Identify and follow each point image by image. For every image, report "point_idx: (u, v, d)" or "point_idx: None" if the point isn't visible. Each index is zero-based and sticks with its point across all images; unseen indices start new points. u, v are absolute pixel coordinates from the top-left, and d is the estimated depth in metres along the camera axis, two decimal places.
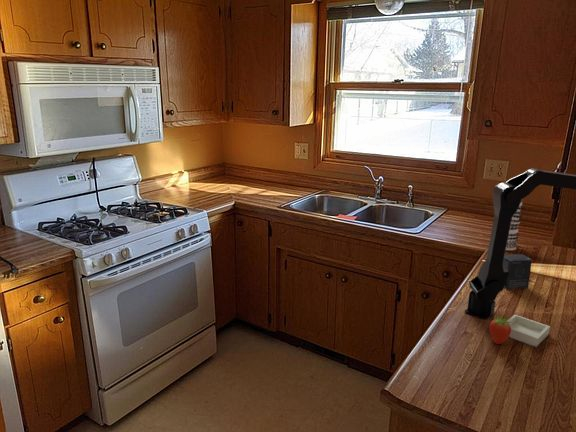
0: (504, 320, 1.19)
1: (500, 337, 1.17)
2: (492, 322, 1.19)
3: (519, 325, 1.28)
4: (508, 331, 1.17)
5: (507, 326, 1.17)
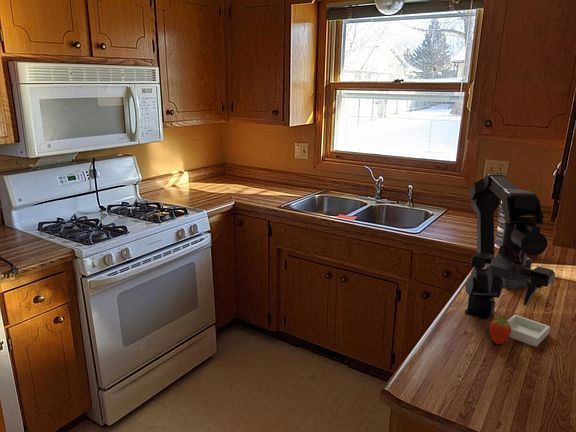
0: (504, 320, 1.19)
1: (500, 337, 1.17)
2: (492, 322, 1.19)
3: (519, 325, 1.28)
4: (508, 331, 1.17)
5: (507, 326, 1.17)
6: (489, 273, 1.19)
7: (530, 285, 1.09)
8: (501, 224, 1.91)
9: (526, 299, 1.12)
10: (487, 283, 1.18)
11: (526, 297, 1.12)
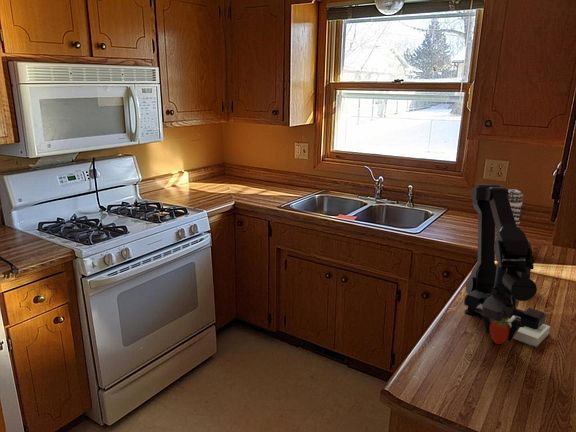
0: (504, 320, 1.19)
1: (500, 337, 1.17)
2: (492, 322, 1.19)
3: None
4: (508, 331, 1.17)
5: (507, 326, 1.17)
6: None
7: (513, 324, 1.14)
8: None
9: (510, 337, 1.17)
10: (487, 324, 1.21)
11: (510, 335, 1.17)
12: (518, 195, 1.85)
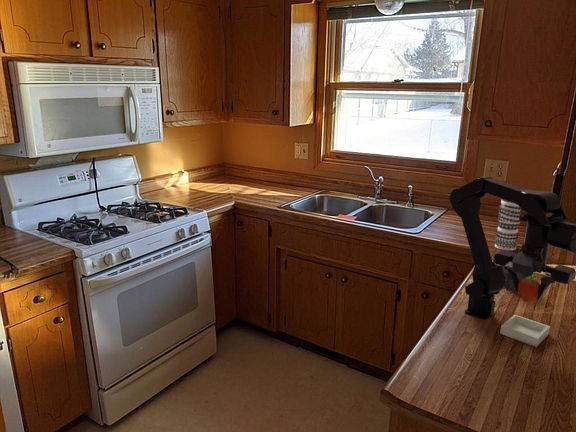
0: (533, 278, 1.20)
1: (529, 294, 1.19)
2: (521, 280, 1.21)
3: (519, 325, 1.28)
4: (537, 288, 1.18)
5: (536, 283, 1.18)
6: (518, 272, 1.22)
7: (543, 280, 1.15)
8: (501, 224, 1.91)
9: (539, 293, 1.18)
10: (516, 282, 1.22)
11: (539, 292, 1.18)
12: None
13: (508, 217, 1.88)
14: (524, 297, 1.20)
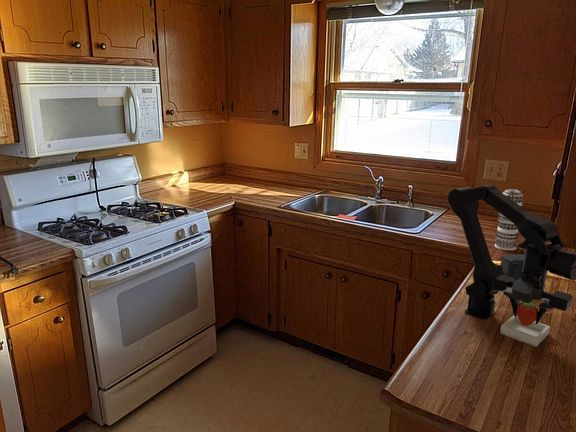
0: (531, 303, 1.23)
1: (528, 319, 1.21)
2: (520, 305, 1.23)
3: (519, 325, 1.28)
4: (536, 313, 1.21)
5: (535, 308, 1.21)
6: None
7: (541, 306, 1.18)
8: (501, 224, 1.91)
9: (538, 319, 1.21)
10: (515, 307, 1.24)
11: (538, 317, 1.20)
12: (518, 195, 1.85)
13: None
14: (523, 322, 1.23)
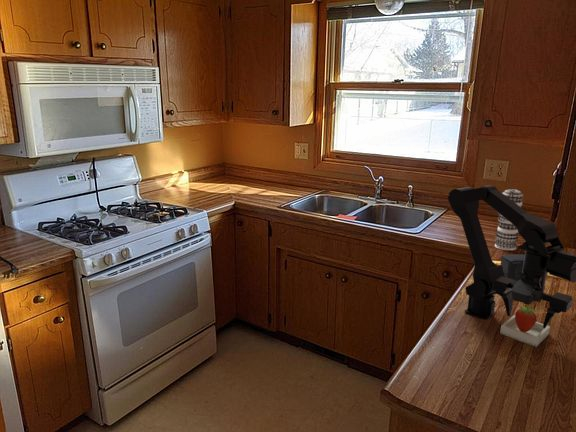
0: (530, 309, 1.23)
1: (526, 325, 1.22)
2: (518, 311, 1.24)
3: None
4: (534, 319, 1.21)
5: (533, 315, 1.22)
6: (510, 297, 1.26)
7: (549, 310, 1.16)
8: (501, 224, 1.91)
9: (545, 323, 1.19)
10: (508, 306, 1.26)
11: (545, 321, 1.19)
12: (518, 195, 1.85)
13: None
14: (521, 328, 1.23)
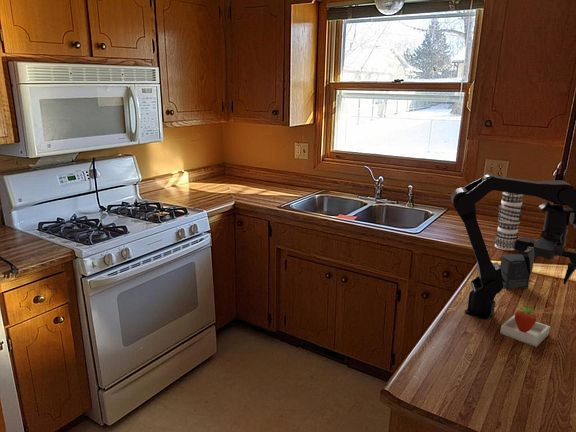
0: (529, 309, 1.23)
1: (526, 326, 1.22)
2: (518, 311, 1.24)
3: None
4: (533, 320, 1.21)
5: (532, 315, 1.22)
6: (531, 256, 1.31)
7: (570, 265, 1.22)
8: (501, 224, 1.91)
9: (566, 278, 1.25)
10: (529, 265, 1.31)
11: (566, 276, 1.24)
12: (518, 195, 1.85)
13: (508, 217, 1.88)
14: (521, 328, 1.23)
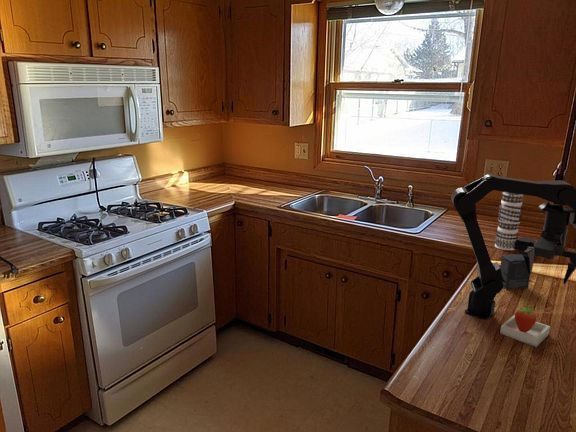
0: (529, 309, 1.23)
1: (526, 326, 1.22)
2: (518, 311, 1.24)
3: None
4: (533, 320, 1.21)
5: (532, 315, 1.22)
6: (531, 255, 1.31)
7: (570, 265, 1.22)
8: (501, 224, 1.91)
9: (566, 278, 1.25)
10: (529, 264, 1.31)
11: (566, 276, 1.25)
12: (518, 195, 1.85)
13: (508, 217, 1.88)
14: (521, 328, 1.23)
